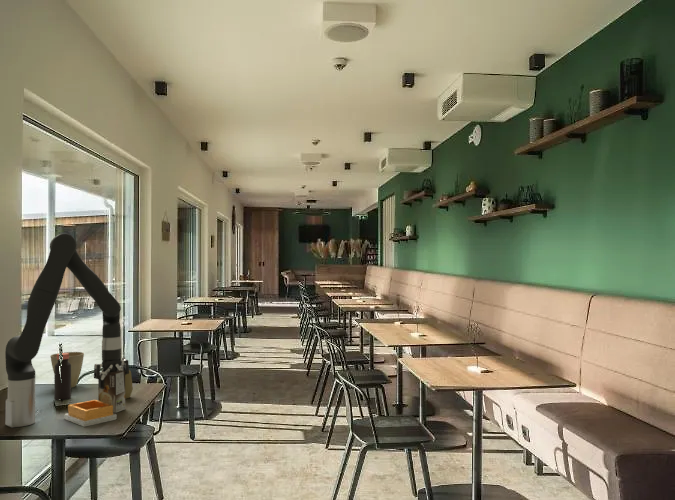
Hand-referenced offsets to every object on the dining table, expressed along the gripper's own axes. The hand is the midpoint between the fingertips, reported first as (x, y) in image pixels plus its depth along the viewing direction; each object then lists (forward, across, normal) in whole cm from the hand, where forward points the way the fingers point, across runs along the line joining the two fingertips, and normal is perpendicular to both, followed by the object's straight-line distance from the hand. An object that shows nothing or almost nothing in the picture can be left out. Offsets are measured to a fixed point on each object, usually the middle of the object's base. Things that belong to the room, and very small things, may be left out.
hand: (111, 386), depth 238 cm
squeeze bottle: (+10, +14, +16) cm, 23 cm away
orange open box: (+10, -12, -6) cm, 17 cm away
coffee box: (+10, 0, 0) cm, 10 cm away
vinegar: (+10, -4, +36) cm, 37 cm away
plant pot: (+10, +8, +58) cm, 59 cm away
